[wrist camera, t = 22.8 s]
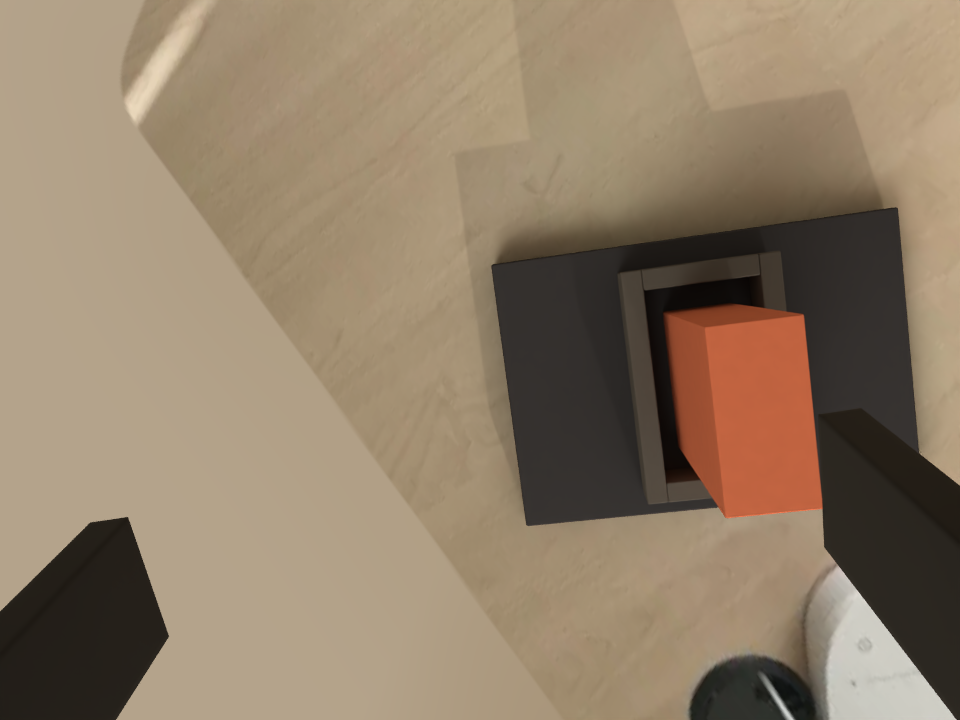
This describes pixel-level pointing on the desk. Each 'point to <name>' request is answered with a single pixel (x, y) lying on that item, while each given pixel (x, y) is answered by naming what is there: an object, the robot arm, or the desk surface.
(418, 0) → the desk surface
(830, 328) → the socket base
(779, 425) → the orange rectangular block
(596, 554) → the desk surface
